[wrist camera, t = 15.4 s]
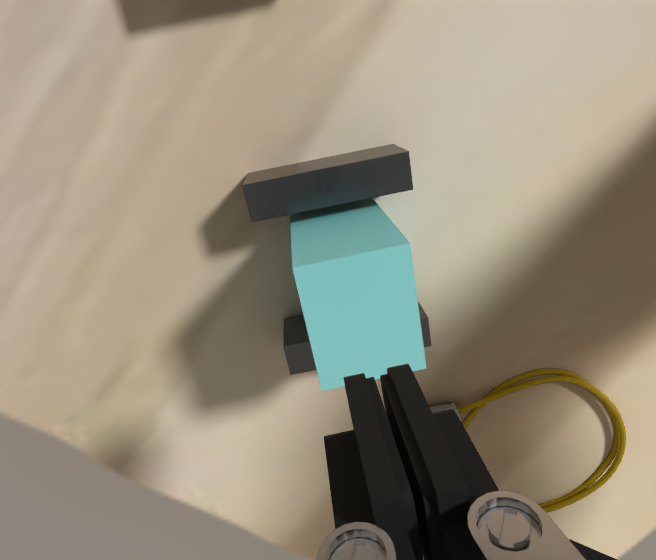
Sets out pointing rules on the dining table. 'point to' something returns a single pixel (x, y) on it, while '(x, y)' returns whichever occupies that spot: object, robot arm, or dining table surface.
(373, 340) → the turquoise rectangular block
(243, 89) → the dining table surface
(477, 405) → the extension cord
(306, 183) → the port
